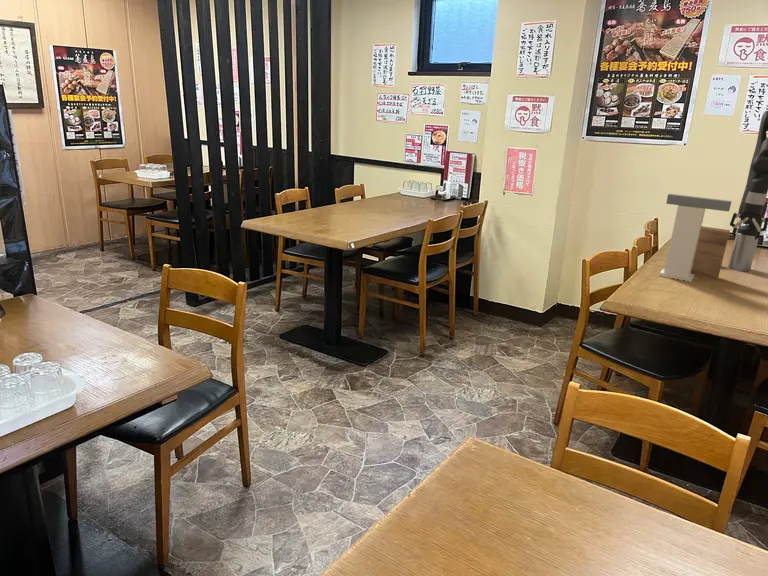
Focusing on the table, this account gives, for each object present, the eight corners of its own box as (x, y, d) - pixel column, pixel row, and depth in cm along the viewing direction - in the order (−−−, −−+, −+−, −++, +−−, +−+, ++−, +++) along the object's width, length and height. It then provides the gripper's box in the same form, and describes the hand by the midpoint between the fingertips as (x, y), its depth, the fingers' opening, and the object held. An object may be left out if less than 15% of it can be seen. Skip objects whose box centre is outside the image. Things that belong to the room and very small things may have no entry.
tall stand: (662, 271, 261) (677, 203, 251) (693, 277, 254) (710, 207, 244) (659, 275, 254) (673, 205, 244) (690, 282, 247) (707, 209, 237)
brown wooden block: (674, 269, 266) (684, 223, 259) (718, 277, 256) (730, 230, 249) (671, 272, 261) (682, 225, 254) (717, 280, 252) (728, 232, 245)
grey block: (667, 202, 251) (669, 193, 249) (729, 210, 238) (731, 201, 237) (666, 203, 248) (668, 194, 246) (728, 211, 235) (730, 202, 234)
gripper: (773, 204, 253) (762, 239, 258) (736, 199, 259) (727, 233, 264) (773, 206, 246) (763, 242, 252) (736, 201, 253) (726, 236, 258)
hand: (744, 237), depth 258 cm, fingers open, 8 cm apart
